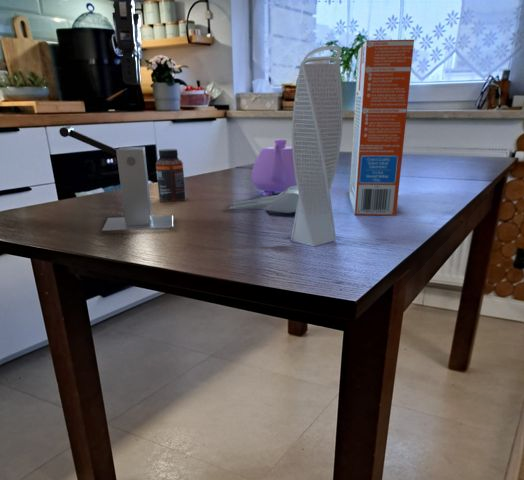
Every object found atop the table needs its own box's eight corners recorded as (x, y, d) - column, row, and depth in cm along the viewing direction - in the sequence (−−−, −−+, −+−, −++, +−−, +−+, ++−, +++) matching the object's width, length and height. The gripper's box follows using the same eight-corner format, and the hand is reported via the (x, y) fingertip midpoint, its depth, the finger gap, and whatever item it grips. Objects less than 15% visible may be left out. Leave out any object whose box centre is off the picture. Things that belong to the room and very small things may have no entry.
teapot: (308, 201, 117) (309, 143, 112) (246, 200, 118) (244, 143, 113) (309, 186, 135) (311, 136, 129) (255, 186, 136) (255, 136, 131)
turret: (236, 216, 113) (231, 194, 111) (327, 203, 109) (324, 180, 107) (226, 226, 104) (221, 202, 102) (325, 213, 100) (322, 188, 98)
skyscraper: (313, 232, 90) (319, 47, 78) (347, 240, 85) (359, 44, 73) (281, 240, 85) (282, 45, 73) (314, 249, 80) (322, 41, 68)
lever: (57, 137, 83) (61, 122, 82) (63, 135, 87) (67, 121, 87) (136, 171, 87) (141, 157, 86) (138, 167, 92) (142, 154, 91)
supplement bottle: (189, 200, 119) (185, 148, 114) (181, 205, 114) (177, 150, 109) (164, 200, 120) (160, 148, 115) (155, 205, 115) (150, 150, 110)
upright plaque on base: (102, 237, 89) (90, 152, 82) (109, 224, 97) (98, 146, 91) (173, 234, 90) (166, 150, 84) (173, 221, 99) (166, 144, 93)
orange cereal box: (396, 215, 102) (414, 39, 89) (354, 215, 103) (366, 40, 90) (383, 195, 123) (396, 49, 109) (349, 195, 123) (358, 50, 110)
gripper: (101, -31, 82) (112, 84, 89) (88, -53, 69) (103, 82, 77) (149, -28, 83) (157, 85, 90) (145, -50, 70) (154, 83, 78)
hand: (132, 84), depth 83 cm, fingers open, 8 cm apart
